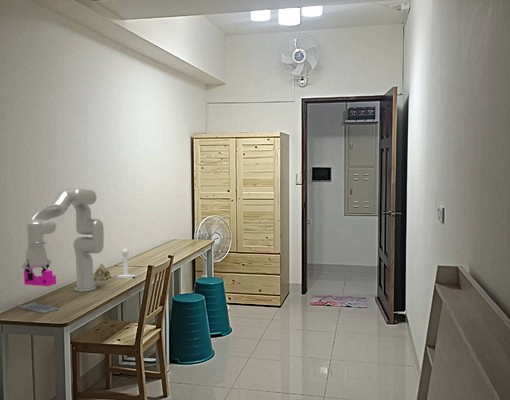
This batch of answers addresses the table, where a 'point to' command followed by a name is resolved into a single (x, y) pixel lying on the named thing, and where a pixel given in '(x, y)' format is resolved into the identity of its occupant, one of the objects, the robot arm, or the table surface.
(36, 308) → the mat
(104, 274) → the ceramic model
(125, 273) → the joystick
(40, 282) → the toy block
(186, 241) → the table surface
